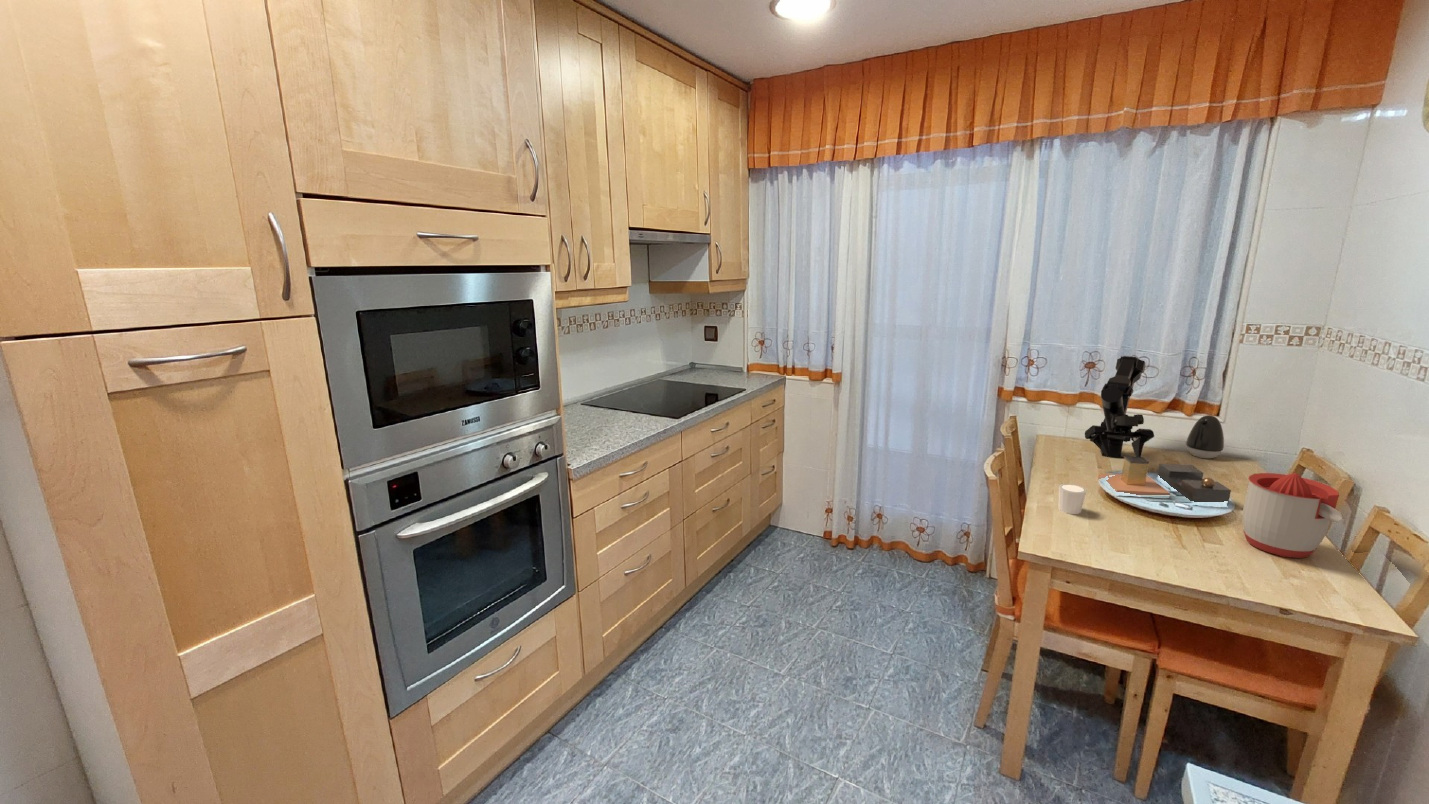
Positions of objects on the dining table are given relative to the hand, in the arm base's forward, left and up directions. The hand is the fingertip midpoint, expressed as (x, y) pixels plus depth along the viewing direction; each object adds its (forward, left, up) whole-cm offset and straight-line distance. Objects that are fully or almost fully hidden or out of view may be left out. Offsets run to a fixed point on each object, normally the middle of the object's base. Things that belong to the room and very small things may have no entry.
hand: (1123, 458), depth 184 cm
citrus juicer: (+37, +29, -7) cm, 48 cm away
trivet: (+8, +2, -7) cm, 11 cm away
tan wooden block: (+8, +2, -5) cm, 10 cm away
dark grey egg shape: (-35, +28, -7) cm, 45 cm away
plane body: (+5, +17, -7) cm, 19 cm away
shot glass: (+33, -16, -7) cm, 38 cm away
